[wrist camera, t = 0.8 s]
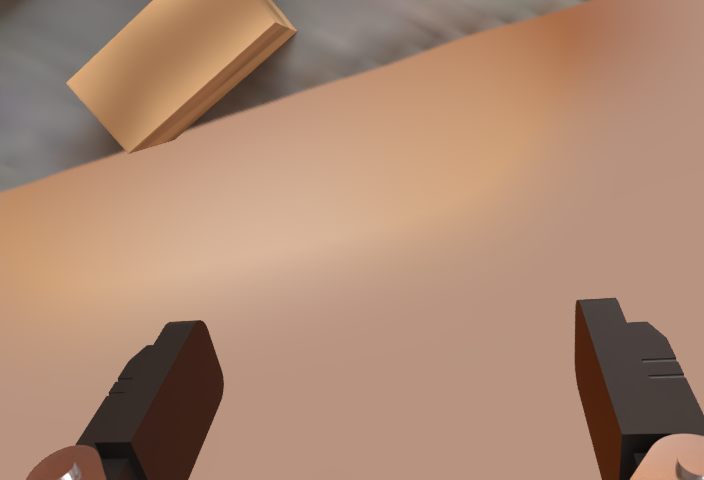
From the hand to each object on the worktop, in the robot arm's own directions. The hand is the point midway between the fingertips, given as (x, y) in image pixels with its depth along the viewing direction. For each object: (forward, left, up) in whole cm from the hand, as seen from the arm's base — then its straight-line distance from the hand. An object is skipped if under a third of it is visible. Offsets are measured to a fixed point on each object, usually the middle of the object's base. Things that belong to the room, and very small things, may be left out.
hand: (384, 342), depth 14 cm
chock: (-12, -4, -26) cm, 29 cm away
